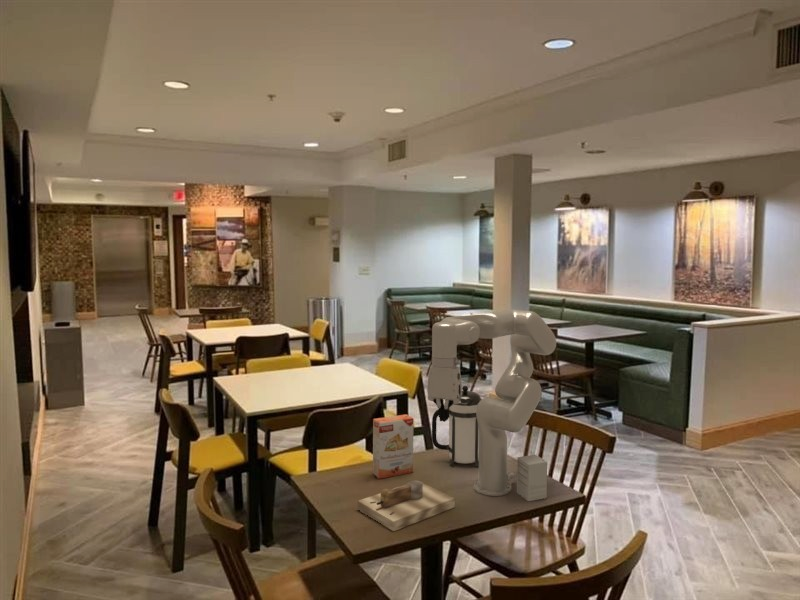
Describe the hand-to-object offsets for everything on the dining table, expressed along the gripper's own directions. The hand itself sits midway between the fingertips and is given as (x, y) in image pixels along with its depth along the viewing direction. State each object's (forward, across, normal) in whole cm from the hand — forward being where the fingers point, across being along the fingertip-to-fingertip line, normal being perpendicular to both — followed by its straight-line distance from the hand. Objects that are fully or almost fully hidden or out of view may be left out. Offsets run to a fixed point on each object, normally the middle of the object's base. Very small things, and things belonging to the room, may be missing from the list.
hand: (443, 420), depth 184 cm
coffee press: (+29, +9, -40) cm, 51 cm away
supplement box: (+29, -22, -23) cm, 43 cm away
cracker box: (+29, +28, -19) cm, 45 cm away
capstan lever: (+26, +12, +7) cm, 29 cm away
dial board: (+29, +11, +4) cm, 31 cm away
